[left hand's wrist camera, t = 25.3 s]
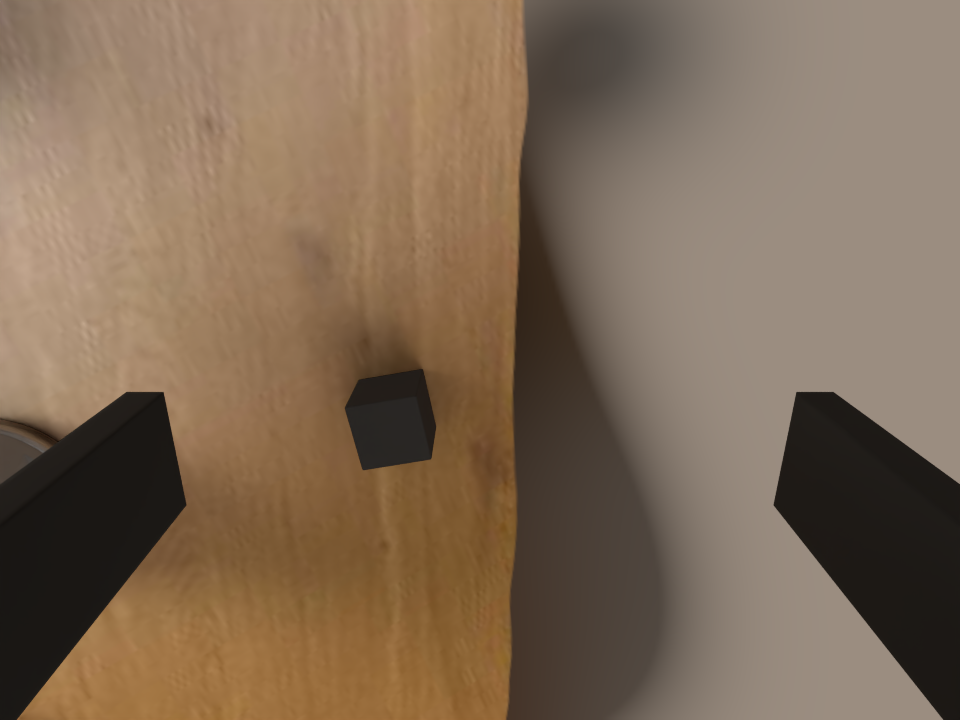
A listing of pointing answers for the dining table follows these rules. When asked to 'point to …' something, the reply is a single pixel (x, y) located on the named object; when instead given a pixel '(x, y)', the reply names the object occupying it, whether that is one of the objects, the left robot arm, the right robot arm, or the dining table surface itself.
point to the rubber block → (392, 419)
